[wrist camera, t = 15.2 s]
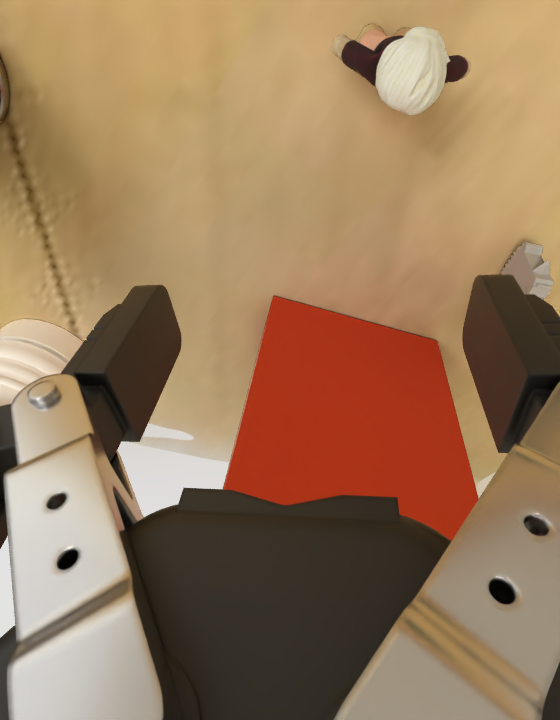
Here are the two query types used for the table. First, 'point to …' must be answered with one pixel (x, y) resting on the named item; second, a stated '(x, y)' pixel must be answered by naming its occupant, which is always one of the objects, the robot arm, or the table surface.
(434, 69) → the grandmother figurine
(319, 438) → the file binder
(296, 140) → the table surface
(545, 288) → the grey flat fragment
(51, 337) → the honey pot
